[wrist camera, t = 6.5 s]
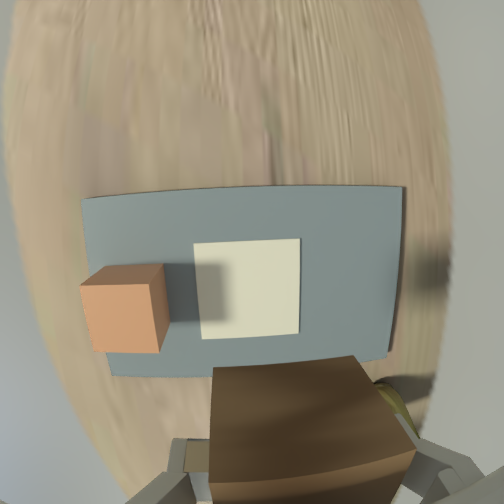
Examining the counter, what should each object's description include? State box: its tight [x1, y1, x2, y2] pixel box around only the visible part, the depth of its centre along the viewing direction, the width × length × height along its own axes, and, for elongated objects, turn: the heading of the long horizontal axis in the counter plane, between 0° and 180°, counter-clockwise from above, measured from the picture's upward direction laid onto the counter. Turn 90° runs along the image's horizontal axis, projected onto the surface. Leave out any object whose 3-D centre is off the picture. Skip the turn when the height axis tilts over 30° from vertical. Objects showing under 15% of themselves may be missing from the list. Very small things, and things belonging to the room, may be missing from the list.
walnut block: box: [208, 355, 417, 504], centre depth 9 cm, size 5×5×5 cm
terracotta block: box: [80, 263, 171, 353], centre depth 22 cm, size 5×5×5 cm
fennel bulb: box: [374, 383, 421, 439], centre depth 24 cm, size 6×5×12 cm
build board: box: [81, 185, 402, 377], centre depth 25 cm, size 26×16×1 cm, turn 92°
